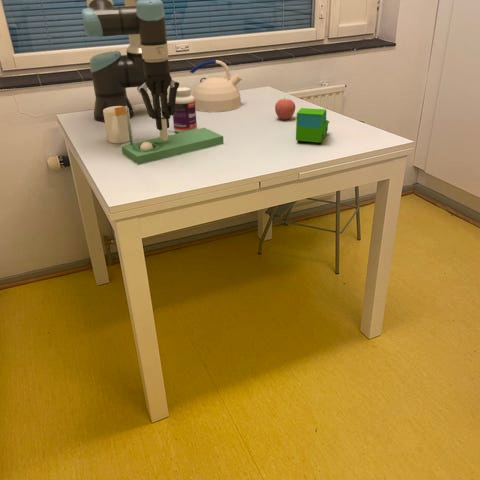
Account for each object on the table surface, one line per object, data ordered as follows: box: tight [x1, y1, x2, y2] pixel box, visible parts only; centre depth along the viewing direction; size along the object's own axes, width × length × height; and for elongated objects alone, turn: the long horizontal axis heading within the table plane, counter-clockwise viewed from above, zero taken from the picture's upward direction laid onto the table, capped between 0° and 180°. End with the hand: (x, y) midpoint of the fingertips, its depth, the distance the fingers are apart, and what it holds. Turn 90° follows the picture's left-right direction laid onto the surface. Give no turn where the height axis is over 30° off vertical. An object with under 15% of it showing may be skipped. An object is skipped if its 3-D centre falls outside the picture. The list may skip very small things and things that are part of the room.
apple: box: [274, 97, 296, 121], centre depth 175 cm, size 7×7×8 cm
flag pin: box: [114, 106, 134, 145], centre depth 145 cm, size 1×4×12 cm, turn 125°
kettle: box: [189, 59, 243, 113], centre depth 192 cm, size 20×21×18 cm
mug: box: [103, 106, 134, 144], centre depth 157 cm, size 8×10×12 cm
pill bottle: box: [172, 86, 198, 133], centre depth 164 cm, size 8×8×14 cm
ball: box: [140, 142, 153, 150], centre depth 147 cm, size 4×4×4 cm
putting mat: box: [121, 127, 224, 165], centre depth 152 cm, size 12×30×2 cm, turn 125°
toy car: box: [295, 107, 330, 145], centre depth 155 cm, size 10×13×10 cm
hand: (164, 139), depth 149 cm, fingers closed
